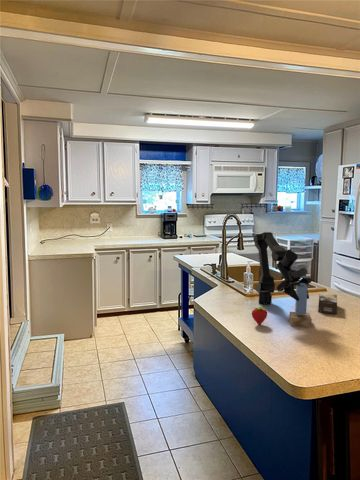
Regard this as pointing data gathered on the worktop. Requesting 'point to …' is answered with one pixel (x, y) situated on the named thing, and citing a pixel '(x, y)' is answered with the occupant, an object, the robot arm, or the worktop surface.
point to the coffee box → (327, 303)
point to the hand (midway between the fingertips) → (303, 299)
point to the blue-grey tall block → (301, 298)
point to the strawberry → (259, 315)
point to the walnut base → (300, 319)
